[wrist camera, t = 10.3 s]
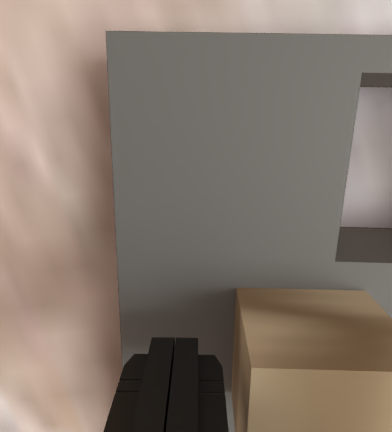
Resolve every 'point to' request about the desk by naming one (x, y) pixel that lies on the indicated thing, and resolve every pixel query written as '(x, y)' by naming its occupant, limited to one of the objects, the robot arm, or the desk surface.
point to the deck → (235, 177)
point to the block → (311, 361)
